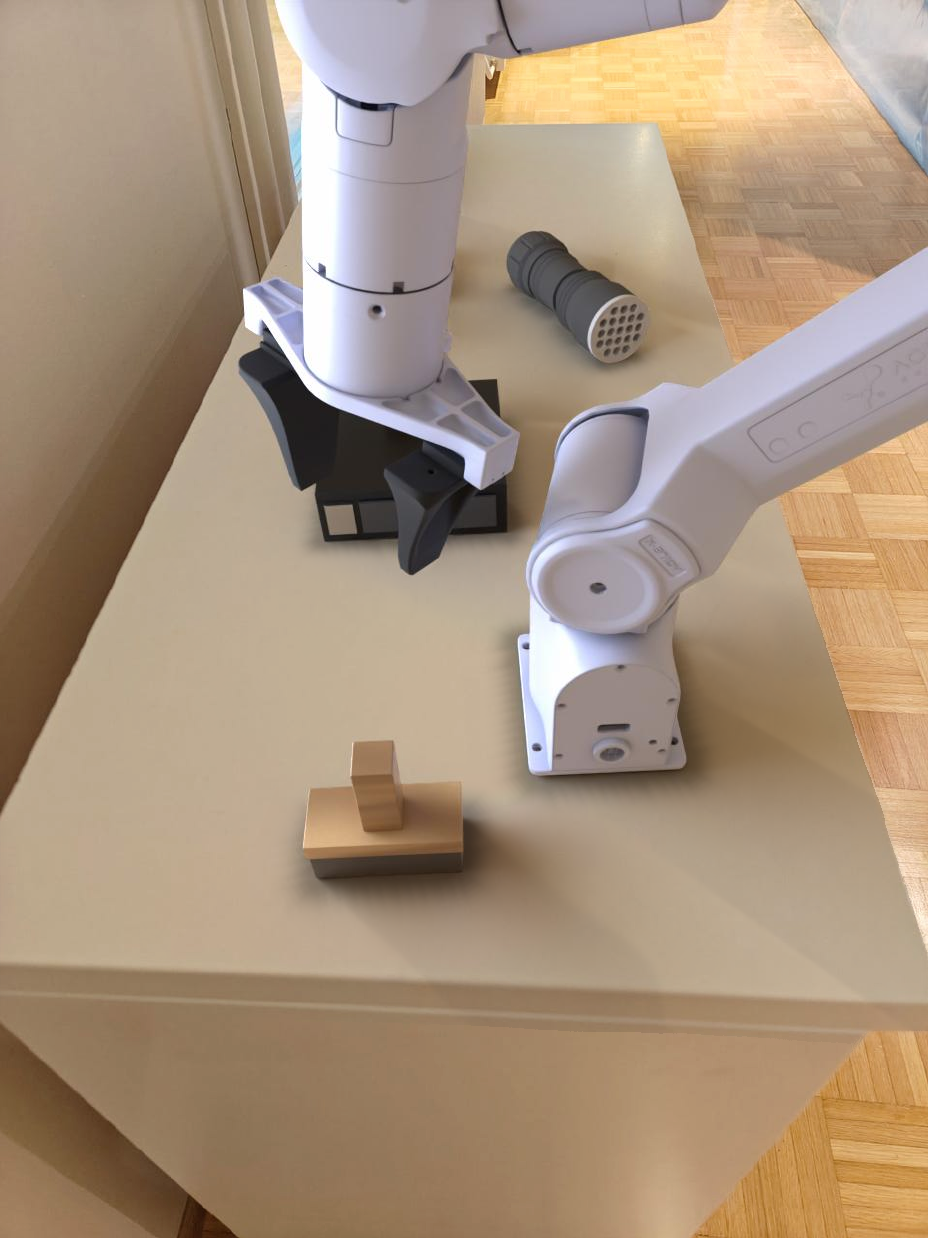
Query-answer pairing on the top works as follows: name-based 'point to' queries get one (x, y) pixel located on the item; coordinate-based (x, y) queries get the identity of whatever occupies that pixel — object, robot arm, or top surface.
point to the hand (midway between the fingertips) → (364, 519)
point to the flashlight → (579, 297)
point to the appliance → (363, 496)
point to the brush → (383, 821)
